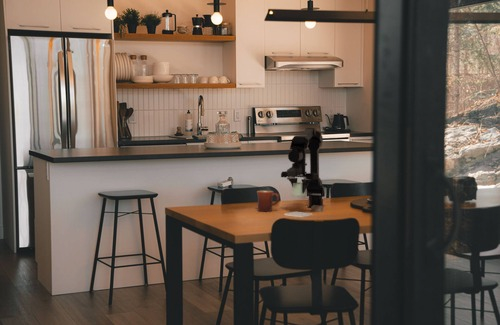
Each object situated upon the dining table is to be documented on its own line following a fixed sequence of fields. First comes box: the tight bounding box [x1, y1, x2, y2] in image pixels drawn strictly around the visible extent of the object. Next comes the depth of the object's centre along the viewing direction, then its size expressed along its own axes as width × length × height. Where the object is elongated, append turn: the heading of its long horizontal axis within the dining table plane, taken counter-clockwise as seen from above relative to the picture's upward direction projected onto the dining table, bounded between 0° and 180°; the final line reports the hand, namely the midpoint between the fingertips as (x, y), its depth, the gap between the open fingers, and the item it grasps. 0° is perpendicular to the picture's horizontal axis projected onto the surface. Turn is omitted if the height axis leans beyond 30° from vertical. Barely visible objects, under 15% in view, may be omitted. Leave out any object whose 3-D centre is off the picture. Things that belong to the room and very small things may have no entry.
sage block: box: [292, 182, 306, 197], centre depth 351 cm, size 4×4×6 cm
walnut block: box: [310, 205, 324, 213], centre depth 366 cm, size 5×5×3 cm
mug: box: [256, 190, 280, 213], centre depth 363 cm, size 12×9×10 cm
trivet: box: [284, 211, 313, 218], centre depth 351 cm, size 10×10×1 cm
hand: (299, 192), depth 351 cm, fingers closed on sage block, 4 cm apart
